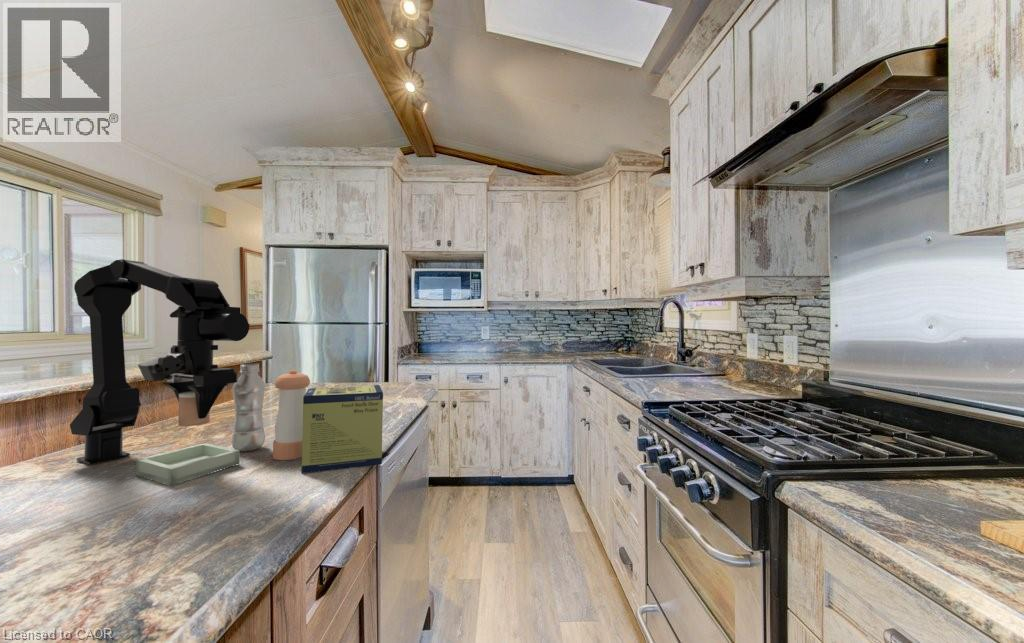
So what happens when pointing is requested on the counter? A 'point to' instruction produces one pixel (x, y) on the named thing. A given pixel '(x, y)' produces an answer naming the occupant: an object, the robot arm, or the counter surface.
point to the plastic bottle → (248, 409)
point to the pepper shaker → (289, 415)
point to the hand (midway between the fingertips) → (194, 416)
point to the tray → (186, 463)
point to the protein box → (342, 428)
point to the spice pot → (189, 410)
